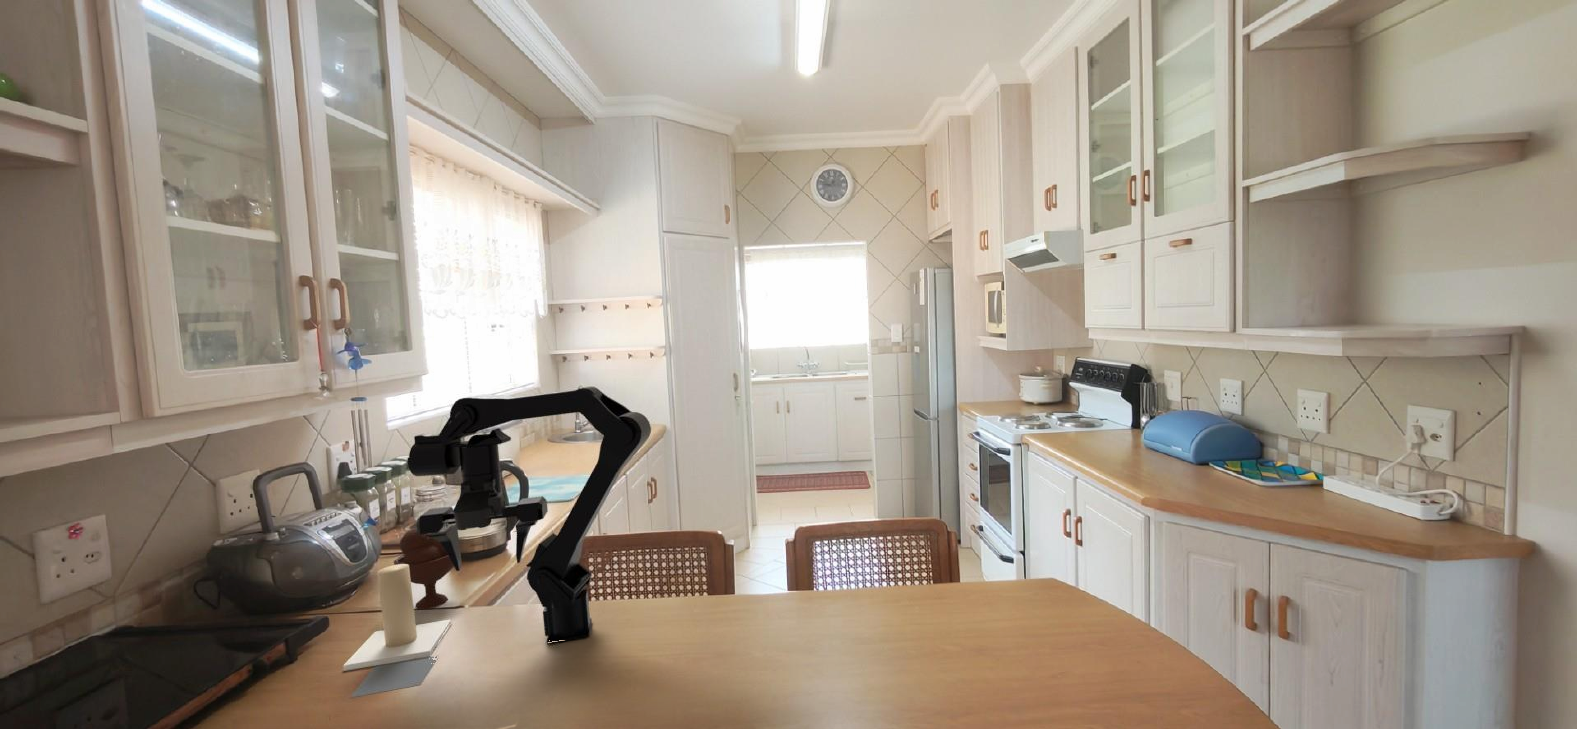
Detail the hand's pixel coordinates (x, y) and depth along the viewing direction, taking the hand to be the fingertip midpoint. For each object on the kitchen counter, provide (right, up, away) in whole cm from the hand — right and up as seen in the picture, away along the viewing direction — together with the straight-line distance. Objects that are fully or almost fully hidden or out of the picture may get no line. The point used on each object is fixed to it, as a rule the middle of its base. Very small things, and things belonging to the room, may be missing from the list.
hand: (489, 566), depth 104 cm
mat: (-9, -13, -10) cm, 19 cm away
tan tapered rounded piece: (-14, -12, 0) cm, 19 cm away
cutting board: (-14, -13, 0) cm, 19 cm away
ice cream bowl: (-20, -13, +18) cm, 30 cm away
